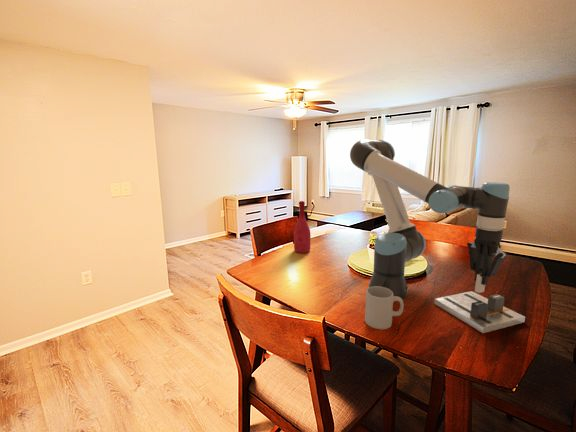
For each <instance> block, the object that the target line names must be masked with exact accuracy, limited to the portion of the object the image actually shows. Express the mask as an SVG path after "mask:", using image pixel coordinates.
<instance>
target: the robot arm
mask: <svg viewBox="0 0 576 432" xmlns="http://www.w3.org/2000/svg"><path fill="white" fill-rule="evenodd" d="M349 152H350V153H349V157H350V161H351V162H352V164H353V166H355V167H356V168H358V169H359V170H362V171H364V172H365V173H367V175H368V176H371V177H372V178H373V183H374V185H375V188H376V191H377V194H378V197H379V200H380V203H381V206H382V210H383V211H384V215H385V218H386V221H387V224H388V227H389V228H388V231H387V233H386V232H385V233H381V234H378V235H377V236H376V238H375V240H374V245H373V248H374V249H373V250H374V251H373V253H374V255H373V272H372V274H371V278H370V280H369V282H368V286H367V287H368V288H369V287H372V286H381V287H385V288H388V289H390V290H391V291H392V292H393V296H398V297H400V298H401V299H402V300H404V299H405V298H407V297H408V294H409V288H408V285H407V284H408V283H407V281H406V277H405V271H406V270H405V267H406V263H407V262H409V261H411V260H413V259H416V258H417V257H419V256H421V255H422V253H424V251H425V249H426V246H427V244H426V243H427V242H426V238H425V236H424V235H423V233H421V232H420V231H419V230H417V227H416V226H417V225H416V224H415V223H412V222H411V221H410V218H409V215H408V212H407V210H406V207H405V204H404V200H403V198H402V194H401V192H400V189H401V190H402V191H405V192H406V193H408V194H410V195H412V196H414V197H416V198H417V199H419V200H421V201H423V202H424V203H426V204H428V206H429V208H430V209H431V210H432V211H433V212H434V213H437V214H448V213H452V212H453V211H456V210H459V209H462V208H463V209H472V210H478V211H477V212H478V213H477V220H476V227H475V232H474V240H473V241H471V242H467V243H466V245H467V246H466V247H467V248H468V252H469V255H468V256H469V265H470V267H469V268H470V270H472V271H474V282H475V286H474V292H475V293H477V294H479V293H480V294H481V293H484V292H485V287H486V285H488V283H489V278H491V277H495V276H496V274H497V273H498V271H499V268H500V266H501V265H502V262H503V261H504V259H505V258H506V257H507V256H508V253H507V252H505V251H503V250H502V249H501V248H502V246H501V242H502V238H503V229H504V228H505V227H504V225H505V221H506V214H507V210H508V204H509V199H510V185H509V184H507V183H504V182H493V181H490V182H489V181H488V182H483V184H482V186H481V187H473V186H463V185H462V186H460V185H442V184H441V183H439V182H437V181H434V180H433V179H431V178H429V177H427V176H425V175H423V174H421V173H419V172H417V171H415V170H413V169H411V168H410V167H409V168H408V167H407V166H405V165H403V164H401V163H399V162H397V161H395V159H394V158H395V156H396V155H395V153H396V152H395V149H394V147H393V145H392V144H391V143H390V142H388V141H385V140H382V139H376V140H375V139H361V140H359V141H356V142H355V143H354V144H353V145H352V147H351V149H350V151H349ZM368 288H367V289H368Z"/></svg>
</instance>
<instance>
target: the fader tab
mask: <svg viewBox="0 0 576 432" xmlns="http://www.w3.org/2000/svg"><path fill="white" fill-rule="evenodd" d="M487 299H488V309H490V310H492V311H494V312H495V311H499V310H503V306H504V305H505V297H504V296H502V295H500V294H492V295H488V298H487Z"/></svg>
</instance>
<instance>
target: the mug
mask: <svg viewBox="0 0 576 432" xmlns="http://www.w3.org/2000/svg"><path fill="white" fill-rule="evenodd" d="M394 302H399V309H398V310H396V311H395V310H393V308H394V307H393V305H394ZM404 307H405V306H404V299H401V298H400V297H398V296H393V292H392V291H391V290H390V289H388V288H385V287H381V286H372V287H369V288H366V291H365V313H364V321H365V324H366V325H367V326H369V327H370V328H373V329H376V330H387V329H389V328H391V327H392V323H393V317H398V316H399V317H400V316H401V315H402V313H403V312H404Z"/></svg>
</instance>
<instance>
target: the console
mask: <svg viewBox="0 0 576 432" xmlns="http://www.w3.org/2000/svg"><path fill="white" fill-rule="evenodd" d="M433 303H434V305H436V306H437V307H439V308H440V309H442V310H444V311H446V312H447V313H449V314H450V315H452V316H454V317H456V318H457V319H459V320H460V321H462V322H464V323H465V324H467V325H468V326H470V327H472V328H474V329H475V330H477V331H478V332H480V333H481V334H485V333H489V332H493V331H497V330H500V329H505V328H507V327H508V328H509V327H512V326H515V325H518V324H519V325H520V324H522V323H523V324H524V323H525V320H526V316H525V315H522V314H521V313H518V312H516V311H515V310H512V309H510V308H508V307H506V306H504V305H503V310H499V311H495V312H494V311H492V310H490V309H488V298H487V297H484V296H483V295H481V294H479V293H478V292H475V291H465V292H460V293H456V294H452V295H451V294H450V295H446V296H441V297H437V298H434V301H433Z"/></svg>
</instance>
